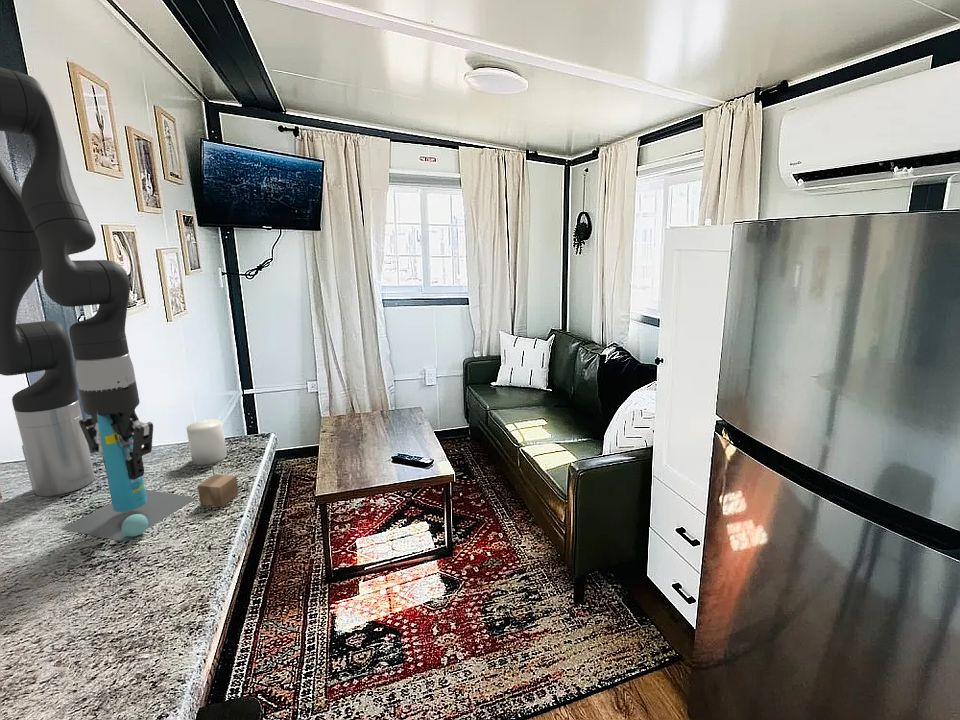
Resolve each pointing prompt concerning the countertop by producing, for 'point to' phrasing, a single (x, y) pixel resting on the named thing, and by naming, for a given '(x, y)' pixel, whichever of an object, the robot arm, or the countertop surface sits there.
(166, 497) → the plate
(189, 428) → the white rounded cylinder
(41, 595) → the countertop surface
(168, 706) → the countertop surface
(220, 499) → the walnut block
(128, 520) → the teal ball
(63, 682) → the countertop surface
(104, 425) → the tube
